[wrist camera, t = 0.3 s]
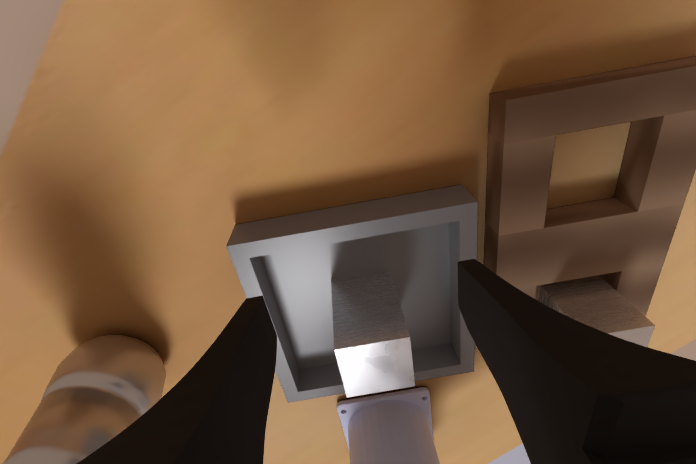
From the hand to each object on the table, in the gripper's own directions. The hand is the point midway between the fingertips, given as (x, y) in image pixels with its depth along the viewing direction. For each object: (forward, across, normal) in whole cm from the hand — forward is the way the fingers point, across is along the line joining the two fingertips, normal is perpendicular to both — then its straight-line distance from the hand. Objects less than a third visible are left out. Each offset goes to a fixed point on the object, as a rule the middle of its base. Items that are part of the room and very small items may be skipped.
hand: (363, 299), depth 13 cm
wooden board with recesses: (+10, -14, +6) cm, 18 cm away
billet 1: (+9, 0, +8) cm, 12 cm away
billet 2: (+10, -14, +11) cm, 20 cm away
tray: (+10, 0, +8) cm, 12 cm away
